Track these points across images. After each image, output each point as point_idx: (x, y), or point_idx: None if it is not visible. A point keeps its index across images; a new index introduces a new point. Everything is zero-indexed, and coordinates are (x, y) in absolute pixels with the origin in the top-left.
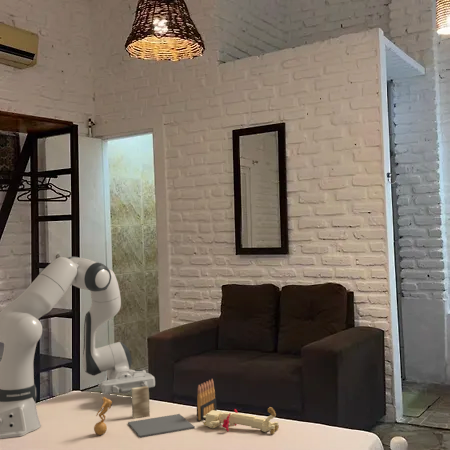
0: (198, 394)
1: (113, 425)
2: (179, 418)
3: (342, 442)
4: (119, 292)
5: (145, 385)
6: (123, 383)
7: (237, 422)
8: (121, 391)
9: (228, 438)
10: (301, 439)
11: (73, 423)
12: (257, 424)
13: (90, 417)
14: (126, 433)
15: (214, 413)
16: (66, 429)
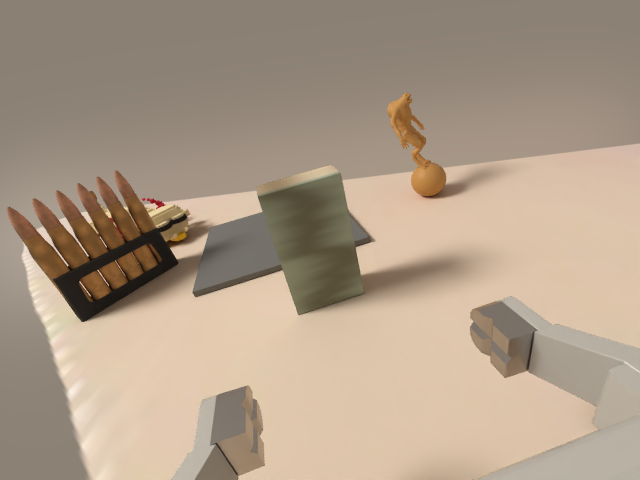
0: (136, 196)
1: (417, 232)
2: (213, 261)
3: (85, 215)
4: None
5: (221, 396)
6: (542, 456)
7: None
8: (472, 329)
9: (188, 209)
10: None
11: (618, 236)
12: None
13: (600, 293)
14: (363, 204)
15: (158, 210)
16: (582, 202)
